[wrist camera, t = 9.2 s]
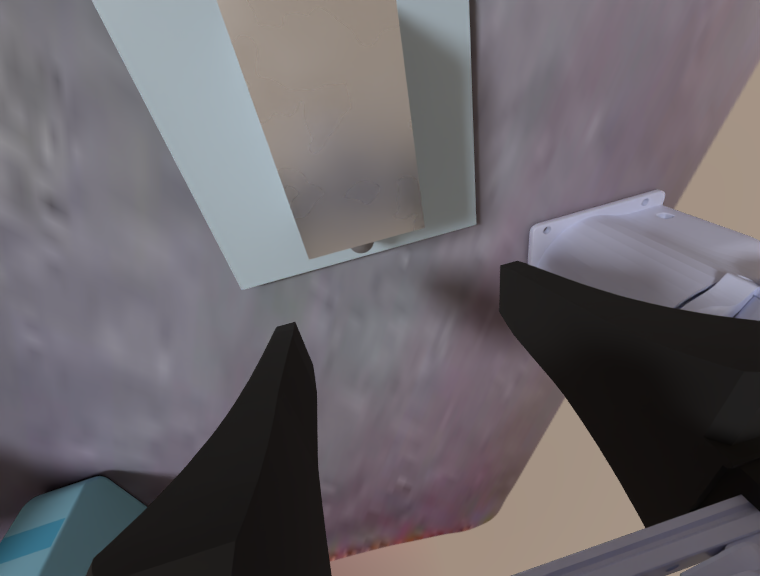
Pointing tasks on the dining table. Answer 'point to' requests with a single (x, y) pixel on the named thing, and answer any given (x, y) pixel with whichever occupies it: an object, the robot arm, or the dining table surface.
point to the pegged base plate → (247, 140)
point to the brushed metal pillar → (332, 114)
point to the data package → (66, 529)
